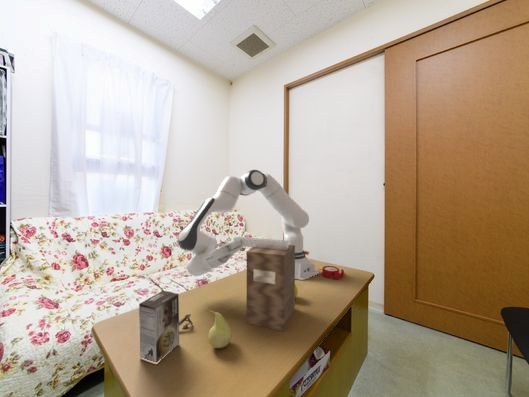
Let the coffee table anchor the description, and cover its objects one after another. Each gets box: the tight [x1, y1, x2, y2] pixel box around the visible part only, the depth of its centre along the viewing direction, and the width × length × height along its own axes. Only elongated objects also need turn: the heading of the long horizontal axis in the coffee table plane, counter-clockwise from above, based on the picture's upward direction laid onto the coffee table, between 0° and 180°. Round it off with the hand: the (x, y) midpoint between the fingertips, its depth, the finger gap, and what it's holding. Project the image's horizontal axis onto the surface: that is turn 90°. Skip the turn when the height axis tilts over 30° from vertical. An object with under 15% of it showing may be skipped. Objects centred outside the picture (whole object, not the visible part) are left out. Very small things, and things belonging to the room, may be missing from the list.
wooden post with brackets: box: [179, 313, 193, 330], centre depth 76 cm, size 2×8×4 cm, turn 128°
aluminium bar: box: [233, 236, 288, 251], centre depth 86 cm, size 22×3×3 cm, turn 69°
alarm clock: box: [317, 265, 348, 280], centre depth 126 cm, size 10×6×15 cm
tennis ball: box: [295, 284, 299, 299], centre depth 98 cm, size 7×7×7 cm
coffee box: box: [138, 290, 180, 362], centre depth 64 cm, size 9×6×16 cm
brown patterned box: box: [246, 245, 296, 332], centre depth 84 cm, size 14×17×26 cm
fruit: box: [206, 308, 233, 349], centre depth 67 cm, size 7×8×12 cm
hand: (243, 240), depth 88 cm, fingers closed on aluminium bar, 3 cm apart
